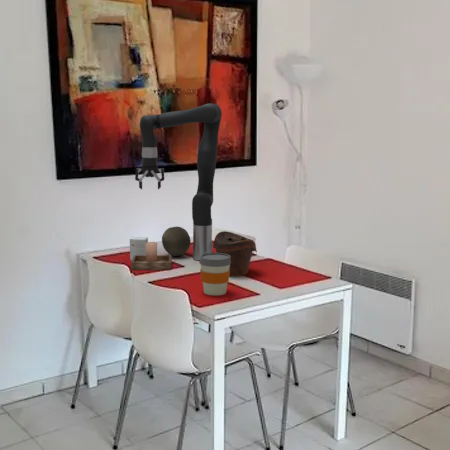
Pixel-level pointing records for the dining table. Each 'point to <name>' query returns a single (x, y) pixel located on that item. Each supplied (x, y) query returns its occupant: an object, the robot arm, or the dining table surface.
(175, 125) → the robot arm
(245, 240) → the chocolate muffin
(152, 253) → the tan round cylinder
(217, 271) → the reusable coffee cup
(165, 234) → the cantaloupe
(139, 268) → the tray
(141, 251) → the small box
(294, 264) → the dining table surface
